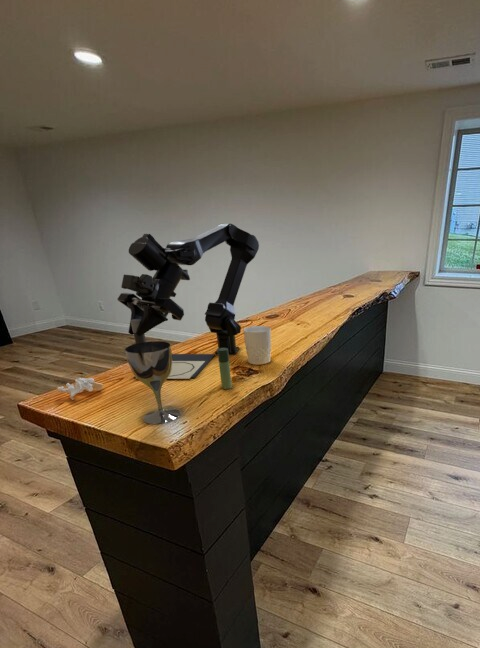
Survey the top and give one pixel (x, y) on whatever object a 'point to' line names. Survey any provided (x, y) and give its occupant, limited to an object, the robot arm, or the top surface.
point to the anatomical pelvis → (81, 386)
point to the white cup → (258, 344)
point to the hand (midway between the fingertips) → (133, 334)
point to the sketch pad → (188, 365)
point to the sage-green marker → (224, 368)
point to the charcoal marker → (135, 325)
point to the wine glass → (153, 374)
